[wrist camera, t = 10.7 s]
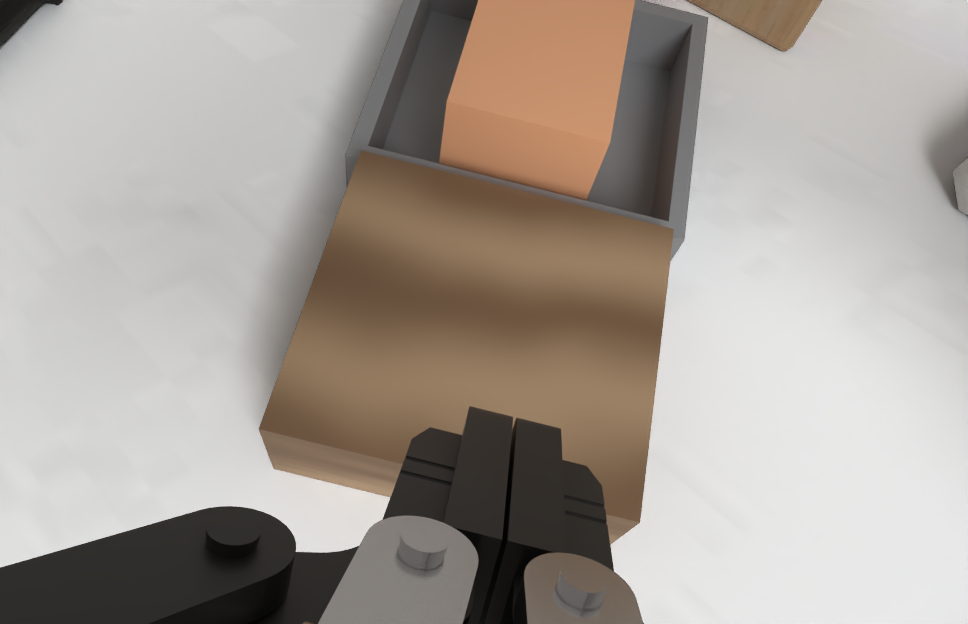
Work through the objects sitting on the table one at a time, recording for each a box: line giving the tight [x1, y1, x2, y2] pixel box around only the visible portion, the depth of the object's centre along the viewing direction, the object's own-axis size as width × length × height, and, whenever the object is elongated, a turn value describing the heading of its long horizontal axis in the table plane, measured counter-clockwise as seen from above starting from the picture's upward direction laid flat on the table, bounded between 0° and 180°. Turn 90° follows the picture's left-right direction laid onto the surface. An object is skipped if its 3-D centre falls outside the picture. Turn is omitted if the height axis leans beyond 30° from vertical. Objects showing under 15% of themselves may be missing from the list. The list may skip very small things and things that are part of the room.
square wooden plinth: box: [259, 151, 674, 544], centre depth 34 cm, size 13×14×5 cm
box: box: [345, 0, 708, 261], centre depth 41 cm, size 15×16×4 cm
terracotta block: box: [439, 0, 635, 201], centre depth 38 cm, size 7×7×9 cm
